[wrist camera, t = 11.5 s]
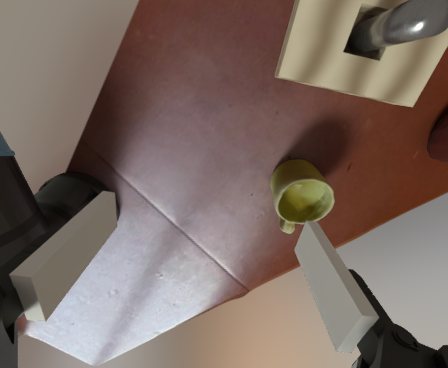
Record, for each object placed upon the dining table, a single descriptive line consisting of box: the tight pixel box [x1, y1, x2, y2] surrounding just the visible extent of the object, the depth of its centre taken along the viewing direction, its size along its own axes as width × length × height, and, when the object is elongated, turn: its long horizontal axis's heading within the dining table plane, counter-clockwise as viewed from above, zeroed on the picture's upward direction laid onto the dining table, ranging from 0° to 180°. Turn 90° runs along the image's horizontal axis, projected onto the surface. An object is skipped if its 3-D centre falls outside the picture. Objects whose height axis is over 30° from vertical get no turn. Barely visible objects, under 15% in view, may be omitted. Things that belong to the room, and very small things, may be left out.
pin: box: [348, 0, 448, 53], centre depth 23 cm, size 4×4×12 cm
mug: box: [270, 159, 335, 234], centre depth 37 cm, size 12×10×10 cm
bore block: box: [274, 0, 448, 107], centre depth 28 cm, size 20×14×4 cm
